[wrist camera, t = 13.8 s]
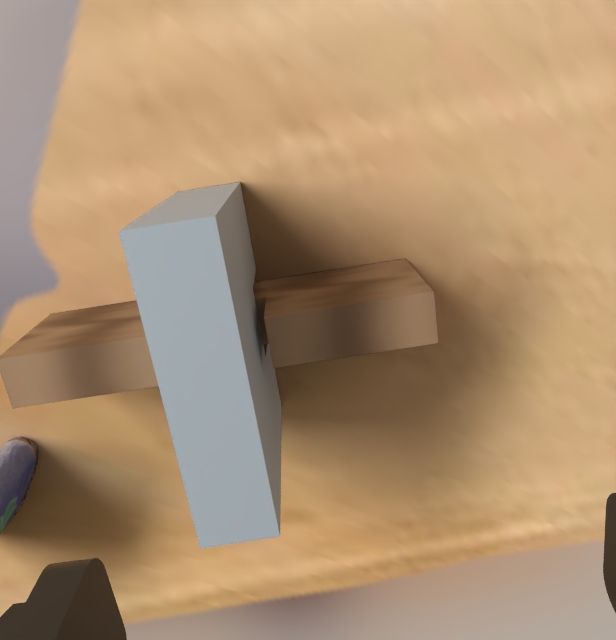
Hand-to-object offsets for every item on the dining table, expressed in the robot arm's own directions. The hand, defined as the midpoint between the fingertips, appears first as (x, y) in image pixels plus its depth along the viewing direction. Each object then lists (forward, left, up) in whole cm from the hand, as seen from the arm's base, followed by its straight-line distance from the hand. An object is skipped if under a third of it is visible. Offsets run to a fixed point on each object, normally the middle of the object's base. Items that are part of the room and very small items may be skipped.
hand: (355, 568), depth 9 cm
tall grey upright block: (+4, -5, -31) cm, 32 cm away
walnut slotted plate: (+4, -6, -31) cm, 31 cm away
